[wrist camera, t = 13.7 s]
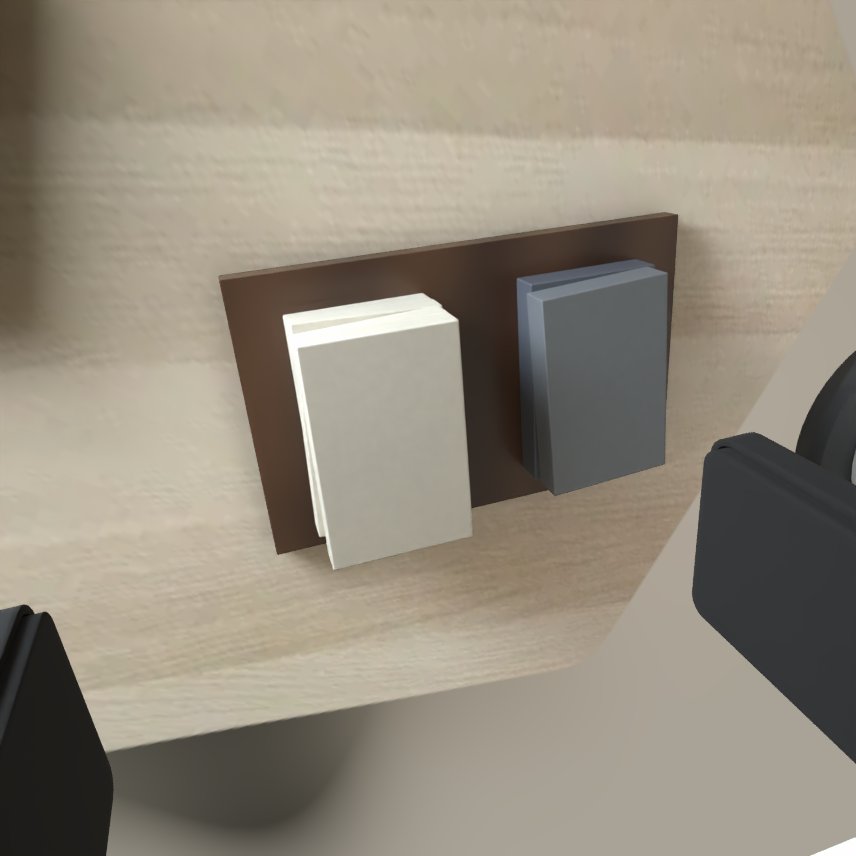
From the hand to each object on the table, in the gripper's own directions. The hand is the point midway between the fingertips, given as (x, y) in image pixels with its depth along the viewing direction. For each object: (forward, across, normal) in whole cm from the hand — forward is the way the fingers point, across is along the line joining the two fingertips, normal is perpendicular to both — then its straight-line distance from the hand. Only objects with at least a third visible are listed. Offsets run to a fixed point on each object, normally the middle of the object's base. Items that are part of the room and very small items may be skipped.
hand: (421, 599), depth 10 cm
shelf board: (+26, -10, +8) cm, 29 cm away
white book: (+21, -4, +8) cm, 23 cm away
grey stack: (+25, -16, +8) cm, 31 cm away
